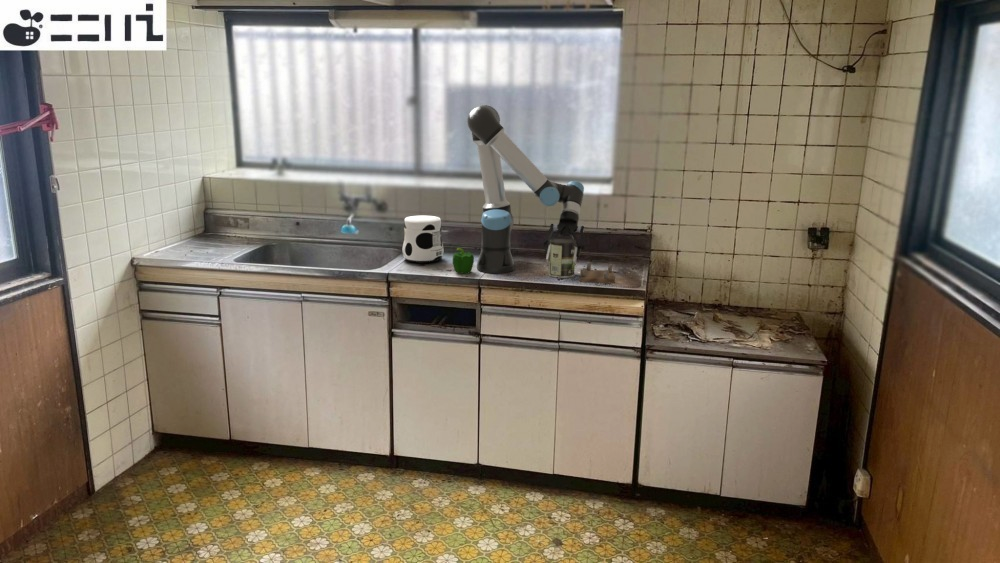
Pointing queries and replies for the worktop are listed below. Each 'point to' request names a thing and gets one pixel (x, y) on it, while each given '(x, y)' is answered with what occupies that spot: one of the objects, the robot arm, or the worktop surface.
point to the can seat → (597, 275)
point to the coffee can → (561, 257)
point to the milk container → (422, 239)
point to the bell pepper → (463, 261)
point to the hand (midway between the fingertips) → (560, 261)
